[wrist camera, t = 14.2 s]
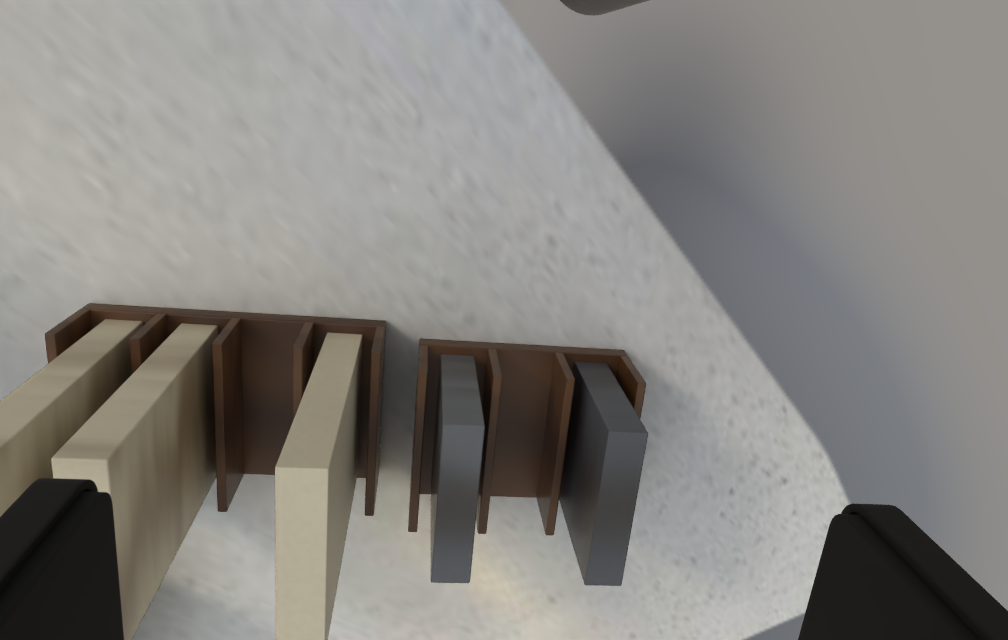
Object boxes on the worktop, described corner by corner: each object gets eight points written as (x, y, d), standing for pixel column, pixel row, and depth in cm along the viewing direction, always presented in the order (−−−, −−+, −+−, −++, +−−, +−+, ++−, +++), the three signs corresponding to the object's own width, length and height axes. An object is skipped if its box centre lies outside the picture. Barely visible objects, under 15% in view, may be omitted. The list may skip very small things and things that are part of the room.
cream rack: (88, 303, 41) (-110, 439, 26) (386, 320, 43) (362, 457, 28) (102, 460, 44) (-67, 664, 29) (379, 470, 46) (354, 665, 31)
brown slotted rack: (419, 338, 44) (416, 413, 34) (624, 349, 45) (675, 424, 36) (410, 485, 47) (405, 590, 37) (601, 491, 48) (643, 594, 39)
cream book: (327, 332, 42) (274, 467, 28) (362, 334, 42) (328, 469, 28) (324, 470, 45) (275, 657, 31) (357, 471, 45) (324, 657, 31)
